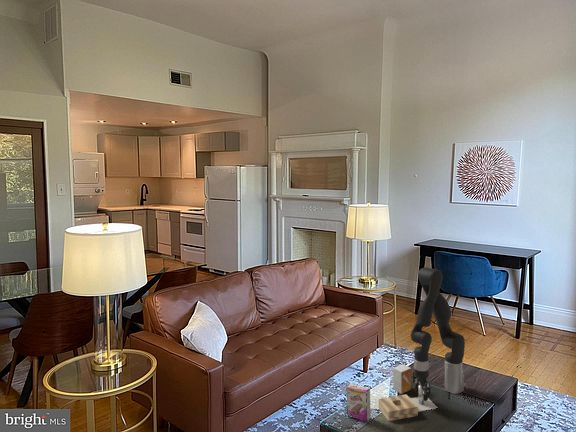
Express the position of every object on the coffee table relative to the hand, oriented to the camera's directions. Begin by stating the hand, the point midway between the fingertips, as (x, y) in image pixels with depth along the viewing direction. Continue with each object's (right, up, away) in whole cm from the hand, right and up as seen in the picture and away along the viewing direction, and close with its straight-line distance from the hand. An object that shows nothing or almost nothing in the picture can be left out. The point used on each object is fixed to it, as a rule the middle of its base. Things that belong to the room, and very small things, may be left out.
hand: (421, 396), depth 229 cm
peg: (0, -4, +1) cm, 4 cm away
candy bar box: (-35, -8, -9) cm, 36 cm away
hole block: (-14, -6, -5) cm, 16 cm away
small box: (-6, -3, +16) cm, 17 cm away
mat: (0, -5, +1) cm, 4 cm away
